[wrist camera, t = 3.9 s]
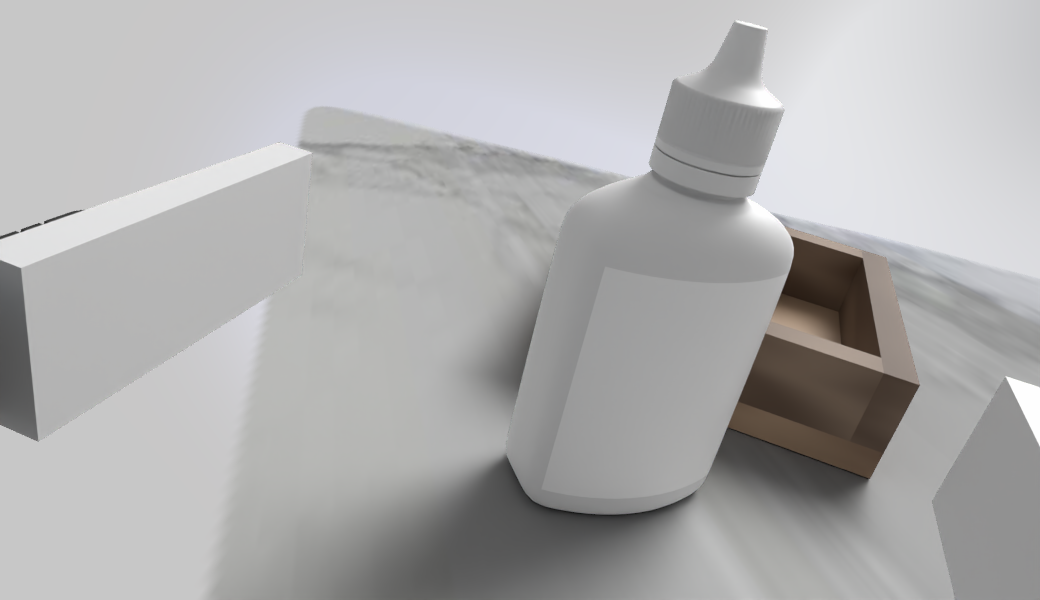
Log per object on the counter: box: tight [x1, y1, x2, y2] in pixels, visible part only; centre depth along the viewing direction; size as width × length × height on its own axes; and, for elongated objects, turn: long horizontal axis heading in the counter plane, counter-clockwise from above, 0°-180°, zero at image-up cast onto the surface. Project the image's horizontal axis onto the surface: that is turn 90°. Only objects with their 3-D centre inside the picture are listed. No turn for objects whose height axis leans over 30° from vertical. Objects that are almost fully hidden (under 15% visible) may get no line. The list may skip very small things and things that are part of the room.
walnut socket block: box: [728, 227, 920, 479], centre depth 29 cm, size 11×11×4 cm
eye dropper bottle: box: [506, 21, 794, 515], centre depth 19 cm, size 4×6×12 cm
